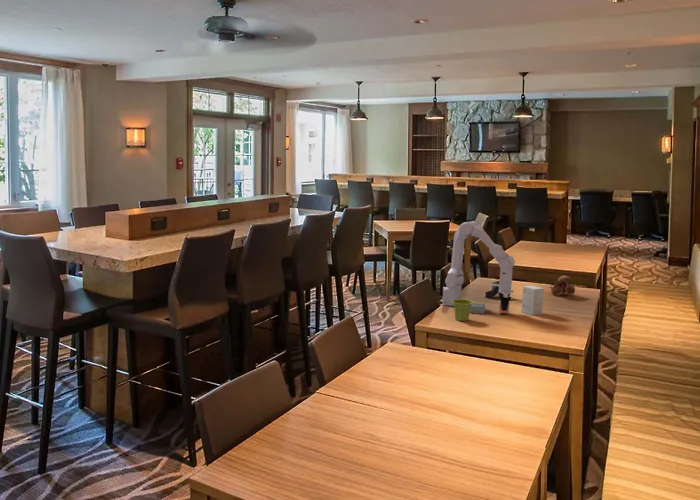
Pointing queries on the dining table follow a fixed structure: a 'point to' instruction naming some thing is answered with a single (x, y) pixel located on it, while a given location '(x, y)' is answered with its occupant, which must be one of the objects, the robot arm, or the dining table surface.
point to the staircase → (493, 289)
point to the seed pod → (562, 286)
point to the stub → (501, 308)
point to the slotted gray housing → (477, 308)
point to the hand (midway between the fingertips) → (503, 308)
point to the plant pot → (462, 309)
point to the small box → (532, 300)
